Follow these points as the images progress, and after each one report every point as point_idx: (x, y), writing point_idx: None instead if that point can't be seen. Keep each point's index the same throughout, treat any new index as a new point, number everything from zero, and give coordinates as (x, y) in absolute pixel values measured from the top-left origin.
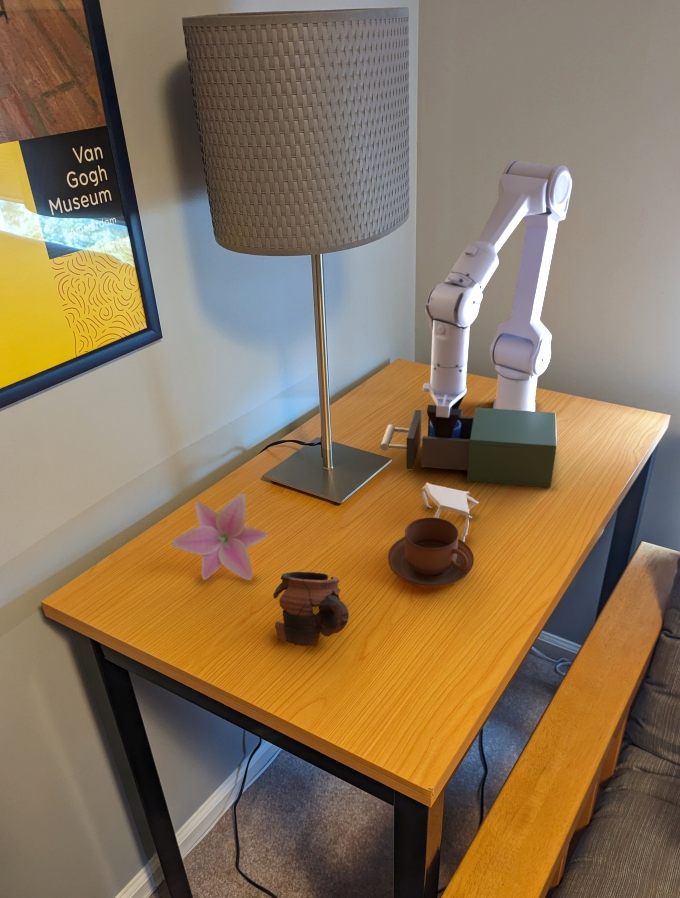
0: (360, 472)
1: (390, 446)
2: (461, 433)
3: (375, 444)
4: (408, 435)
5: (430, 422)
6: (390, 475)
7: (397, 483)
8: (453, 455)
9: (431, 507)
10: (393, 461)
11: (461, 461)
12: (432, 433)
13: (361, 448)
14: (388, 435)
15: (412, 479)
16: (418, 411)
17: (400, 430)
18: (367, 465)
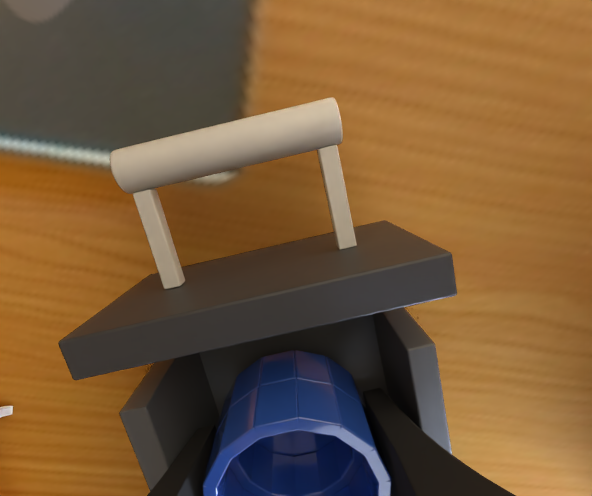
0: (82, 94)
1: (136, 203)
2: None
3: (323, 55)
4: (91, 342)
5: (272, 425)
6: (121, 218)
7: (83, 263)
8: None
9: (7, 414)
10: (221, 188)
11: None
12: (225, 424)
13: (266, 6)
14: (208, 157)
15: None
16: (432, 281)
17: (324, 183)
18: (145, 98)
